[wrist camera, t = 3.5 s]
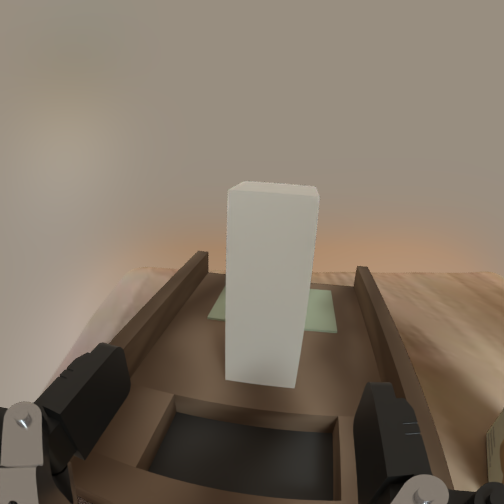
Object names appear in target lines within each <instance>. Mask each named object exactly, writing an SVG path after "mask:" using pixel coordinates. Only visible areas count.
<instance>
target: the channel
mask: <svg viewBox="0 0 504 504" xmlns="http://www.w3.org/2000/svg"><path fill="white" fill-rule="evenodd" d="M225 310H226V274H218V273H209V272H208V252H204V251H198V252H197V253H196V254H195V255H194V256H193V257H192V258H191V259H190V260H189V261H188V262H187V263H186V264H185V265H184V266H183V267H182V268H181V269H180V270H179V271H178V272H177V273H176V274H175V275H174V276H173V277H172V278H171V279H170V280H169V281H168V282H167V283H166V284H165V285H164V286H163V287H162V288H161V289H160V290H159V291H158V292H157V293H156V294H155V295H154V296H153V297H152V298H151V299H150V300H149V302H148V303H147V304H146V305H145V306H144V307H143V308H142V309H141V310H140V311H139V312H138V313H137V314H136V315H135V316H134V317H133V318H132V319H131V320H130V321H129V323H128V324H127V325H126V326H125V327H124V328H123V329H122V330H121V331H120V332H119V333H118V334H117V335H116V336H115V337H114V339H113V340H112V341H111V342H110V343H109V344H111V345H115V346H118V347H121V348H122V349H123V350H124V353H125V358H126V363H127V367H128V371H129V376H130V380H131V387H130V392H129V394H128V396H127V398H126V400H125V401H124V402H123V404H122V405H121V407H120V408H119V410H118V411H117V413H116V414H115V416H114V417H113V419H112V420H111V422H110V423H109V425H108V426H107V428H106V429H105V431H104V432H103V434H102V435H101V437H100V438H99V440H98V442H97V443H96V445H95V446H94V448H93V449H92V451H91V452H90V454H89V455H88V457H87V458H86V460H83V459H80V458H78V457H76V456H74V455H73V456H72V458H71V459H70V463H71V466H72V472H73V478H74V483H75V489H76V494H77V496H78V497H80V498H82V499H84V500H86V501H88V502H90V503H93V504H358V490H357V474H356V460H355V448H354V437H353V422H354V417H355V413H356V411H357V408H358V405H359V402H360V400H361V397H362V394H363V391H364V388H365V386H366V384H367V383H368V382H390V383H391V384H392V386H393V389H394V393H395V396H396V398H405V399H406V401H407V402H408V403H409V404H410V405H411V406H412V408H413V409H414V412H415V415H416V418H417V421H418V422H417V424H418V425H419V428H420V431H421V432H420V435H422V438H423V442H424V445H425V449H426V453H427V456H428V460H429V464H430V468H431V472H432V474H433V476H435V477H437V478H439V479H440V480H442V481H443V482H444V483H445V485H446V486H447V488H448V489H451V490H454V487H453V484H452V480H451V476H450V473H449V469H448V466H447V462H446V459H445V456H444V452H443V449H442V446H441V443H440V440H439V437H438V434H437V431H436V428H435V425H434V422H433V419H432V416H431V413H430V410H429V408H428V405H427V402H426V399H425V397H424V394H423V391H422V389H421V386H420V383H419V381H418V378H417V376H416V373H415V371H414V368H413V366H412V363H411V361H410V358H409V356H408V354H407V351H406V349H405V347H404V344H403V342H402V339H401V337H400V335H399V333H398V330H397V328H396V326H395V324H394V321H393V319H392V317H391V315H390V313H389V310H388V308H387V306H386V304H385V302H384V300H383V298H382V295H381V293H380V291H379V289H378V287H377V285H376V283H375V281H374V279H373V277H372V275H371V273H370V271H369V269H368V267H362V266H357V270H356V276H355V282H354V287H351V286H339V285H328V284H317V283H310V291H309V299H308V306H307V313H306V320H305V327H304V334H303V340H302V347H301V353H300V359H299V365H298V371H297V377H296V383H295V388H285V387H276V386H267V385H259V384H251V383H244V382H237V381H230V380H225Z"/></svg>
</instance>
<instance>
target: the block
mask: <svg viewBox="0 0 504 504" xmlns="http://www.w3.org/2000/svg"><path fill="white" fill-rule="evenodd" d="M319 199H320V196H319V194H318V191H317V188H316V187H315V186H305V185H293V184H281V183H267V182H251V181H244V182H242V183H240V184H238V185H236V186H234V187H232V188H231V189H229V190H228V206H227V247H226V310H225V380H230V381H237V382H244V383H251V384H259V385H267V386H276V387H285V388H295V383H296V377H297V371H298V365H299V359H300V353H301V347H302V340H303V334H304V327H305V320H306V313H307V306H308V299H309V291H310V283H311V275H312V267H313V258H314V249H315V240H316V230H317V220H318V210H319Z"/></svg>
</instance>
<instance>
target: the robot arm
mask: <svg viewBox="0 0 504 504" xmlns="http://www.w3.org/2000/svg"><path fill="white" fill-rule="evenodd" d="M130 387H131V380H130V376H129V371H128V367H127V363H126V358H125V353H124V350H123V349H122V348H121V347H118V346H115V345H111V344H107V343H100V344H98V345H97V346H96V348H95V349H94V350H93V351H92V352H91V353H86V354H84V355H82V356H80V357H78V358H76V359H75V360H74V361H73V362H72V363H71V364H70V365H69V366H68V367H67V370H64V371H63V372H62V373H61V374H60V377H58V378H57V379H56V380H55V381H54V382H53V383H52V384H51V385H50V386H49V387H48V388H47V389H46V390H45V391H44V392H43V394H42V395H41V396H40V397H39V398H38V399H37V400H36V401H35V402H34V403H31V402H19V403H16V404H14V405H12V406H11V407H10V408H9V409H7V408H2V407H0V504H79V503H78V499H77V494H76V489H75V483H74V478H73V472H72V466H71V463H70V459H71V458H72V456H73V455H74V456H76V457H78V458H80V459H83V460H86V458H87V457H88V455H89V454H90V452H91V451H92V449H93V448H94V446H95V445H96V443H97V442H98V440H99V438H100V437H101V435H102V434H103V432H104V431H105V429H106V428H107V426H108V425H109V423H110V422H111V420H112V419H113V417H114V416H115V414H116V413H117V411H118V410H119V408H120V407H121V405H122V404H123V402H124V401H125V400H126V398H127V396H128V394H129V392H130ZM417 422H418V421H417V418H416V415H415V412H414V409H413V408H412V406H411V405H410V404H409V403H408V402H407V401H406V399H405V398H396V396H395V393H394V389H393V386H392V384H391V383H390V382H368V383H367V384H366V386H365V388H364V391H363V394H362V397H361V400H360V402H359V405H358V408H357V411H356V413H355V417H354V422H353V437H354V448H355V460H356V474H357V490H358V504H504V484H502V483H500V482H489V483H486V484H484V485H483V486H482V487H480V488H479V489H478V490H477V491H476V492H469V491H458V490H451V489H448V488H447V486H446V485H445V483H444V482H443V481H442V480H440V479H439V478H437V477H435V476H433V474H432V472H431V468H430V464H429V460H428V456H427V453H426V449H425V445H424V442H423V438H422V435H420V432H421V431H420V428H419V425H418V424H417Z"/></svg>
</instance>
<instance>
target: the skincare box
mask: <svg viewBox="0 0 504 504" xmlns="http://www.w3.org/2000/svg"><path fill="white" fill-rule="evenodd" d="M486 441H487V462H488V483H489V482H500V483H502V484H504V409H503V410H502V412H501V413H500V415H499V416H498V418H497V419H496V421H495V422H494V423H493V425H492V426H491V428H490V429H489V430H488V432H487V434H486Z"/></svg>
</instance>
